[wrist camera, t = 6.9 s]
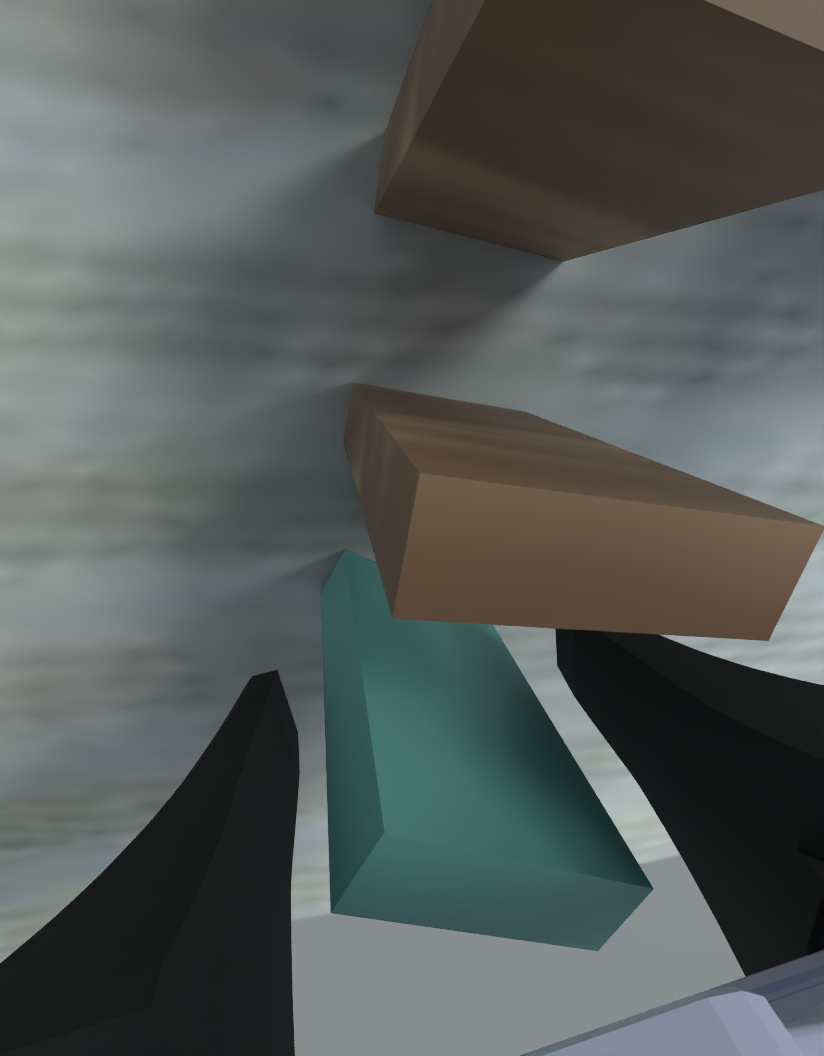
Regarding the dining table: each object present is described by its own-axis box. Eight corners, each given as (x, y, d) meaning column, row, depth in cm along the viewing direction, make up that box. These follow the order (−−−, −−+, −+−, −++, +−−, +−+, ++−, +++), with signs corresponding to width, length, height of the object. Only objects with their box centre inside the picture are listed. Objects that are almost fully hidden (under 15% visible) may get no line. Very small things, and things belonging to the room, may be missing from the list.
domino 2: (351, 382, 13) (420, 473, 5) (525, 412, 14) (825, 526, 6) (343, 442, 13) (392, 618, 5) (511, 466, 15) (768, 640, 6)
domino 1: (385, 131, 11) (597, -453, 3) (582, 190, 12) (1136, -101, 4) (374, 212, 12) (524, -76, 3) (564, 261, 13) (1019, 135, 5)
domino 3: (344, 549, 15) (385, 832, 6) (481, 606, 16) (653, 889, 8) (321, 593, 15) (330, 913, 7) (457, 644, 17) (598, 950, 8)
